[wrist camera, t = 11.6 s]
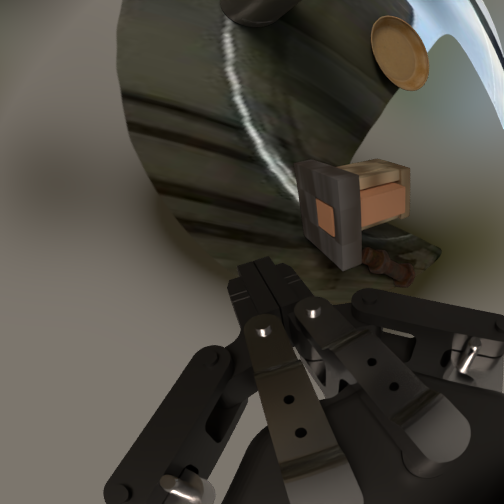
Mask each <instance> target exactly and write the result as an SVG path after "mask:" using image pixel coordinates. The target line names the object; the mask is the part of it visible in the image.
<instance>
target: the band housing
mask: <svg viewBox="0 0 504 504" xmlns="http://www.w3.org/2000/svg"><path fill="white" fill-rule="evenodd" d="M294 169H295V175H296V181H297V188H298V195H299V202H300V209H301V216H302V223H303V231H304V236H305V237H306V238H308V239H309V240H310V241H311V242H312V243H313V244H314V245H315V246H316V247H317V248H318V249H320V250H321V251H322V252H323V253H324V254H325V255H326V256H327V257H328V258H329V259H330V260H331V261H333V262H334V263H335V264H336V265H337V266H338V267H339V268H340V269H341V270H342V271H345V270H347V269H350V268H352V267H355V266H357V265H360V264H362V230H364V229H367V228H370V227H373V226H376V225H379V224H382V223H385V222H387V221H390V220H393V219H396V218H400V219H403V218H406V217H408V216H409V214H410V168H408V167H405V166H402V165H398V164H395V163H391V162H388V161H384V160H380V159H373V160H368V161H363V162H358V163H353V164H348V165H343V166H338V167H334V166H331V165H328V164H325V163H322V162H319V161H315V160H312V159H311V160H306V161H302V162H297V163H294ZM389 182H394V183H396V184H399V185H402V186H404V187H405V213H403V214H400V215H397V216H394V217H391V218H388V219H385V220H382V221H379V222H376V223H373V224H370V225H367V226H364V227H361V199H360V190H362V189H366V188H370V187H374V186H377V185H381V184H385V183H389ZM317 198H318V199H320V200H322V201H324V202H325V203H327V204H329V205H330V206H332V207H333V213H334V226H335V236H334V237H333V236H331V235H330V234H329V233H328V232H326V231H325V230H324V229H322V228H321V227H320V226H319V224H318V214H317V205H316V199H317Z"/></svg>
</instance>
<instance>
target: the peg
mask: <svg viewBox="0 0 504 504" xmlns="http://www.w3.org/2000/svg"><path fill="white" fill-rule="evenodd" d="M360 199H361V227H364V226H367V225H370V224H373V223H376V222H379V221H382V220H385V219H388V218H391V217H394V216H397V215H400V214H403V213H405V187H404V186H402V185H399V184H396V183H394V182H389V183H385V184H381V185H377V186H374V187H370V188H366V189H362V190H360ZM316 205H317V214H318V224H319V226H320V227H321V228H322V229H324V230H325V231H326V232H328V233H329V234H330V235H331V236H333V237H334V236H335V226H334V213H333V207H332V206H330V205H329V204H327V203H325V202H324V201H322V200H320V199H318V198H317V199H316Z"/></svg>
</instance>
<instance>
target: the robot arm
mask: <svg viewBox="0 0 504 504" xmlns="http://www.w3.org/2000/svg"><path fill="white" fill-rule="evenodd" d="M300 1H302V0H220V5H221V8H222V10H223V12H224V13H225V14H226V15H227V16H228V17H229V18H230V19H231V20H233V21H234V22H236V23H238V24H241V25H244V26H249V27H263V26H267V25H270V24H272V23H274V22H275V21H277V20H278V19H279V18H280V17H282V16H283V15H284V14H285V13H286V12H288V11H289V10H290V9H291V8H293V7H294V6H295V5H296V4H298V3H299V2H300ZM237 270H238V274H239V277H238V278H235V279H232V280H229V283H228V287H227V289H228V293H229V296H230V299H231V302H232V305H233V308H234V311H235V314H236V317H237V320H238V323H239V325H240V328H241V331H240V334H239V336H238V338H237V339H236V340H235V341H234V342H233V343H231V344H230V345H228V346H227V347H225V348H224V347H221V346H217V345H212V346H207V347H204V348H202V349H201V350H199V351H198V352H197V353H196V354H195V355H194V356H193V358H192V359H191V361H190V362H189V363H188V365H187V366H186V368H185V369H184V371H183V372H182V374H181V375H180V377H179V378H178V380H177V381H176V383H175V384H174V386H173V387H172V389H171V390H170V391H169V393H168V394H167V396H166V397H165V399H164V400H163V402H162V403H161V405H160V406H159V408H158V409H157V411H156V412H155V414H154V415H153V416H152V418H151V419H150V421H149V422H148V424H147V425H146V427H145V428H144V429H143V431H142V433H141V434H140V435H139V437H138V438H137V440H136V441H135V443H134V444H133V445H132V447H131V448H130V450H129V451H128V453H127V454H126V455H125V457H124V458H123V460H122V461H121V463H120V464H119V466H118V467H117V468H116V470H115V471H114V473H113V474H112V476H111V477H110V479H109V480H108V481H107V483H106V485H105V487H104V499H105V502H106V504H213V503H214V500H215V489H214V487H213V486H212V484H211V483H210V482H209V481H207V479H208V477H209V476H210V474H211V472H212V470H213V468H214V467H215V465H216V463H217V461H218V459H219V457H220V456H221V454H222V452H223V450H224V448H225V446H226V444H227V442H228V441H229V439H230V436H231V435H232V433H233V431H234V429H235V427H236V425H237V423H238V421H239V419H240V417H241V415H242V413H243V411H244V409H245V407H246V405H247V403H248V397H250V396H251V395H252V394H254V393H255V392H257V391H258V392H259V396H260V399H261V403H262V407H263V410H264V414H265V418H266V421H267V426H266V427H265V428H264V429H262V430H261V431H260V432H259V433H258V434H257V435H256V436H255V438H254V439H253V440H252V441H251V443H250V445H249V446H248V448H247V450H246V452H245V455H244V457H243V459H242V461H241V463H240V466H239V468H238V470H237V472H236V474H235V476H234V479H233V481H232V483H231V485H230V487H229V489H228V491H227V493H226V495H225V497H224V500H223V501H222V503H221V504H504V394H503V393H502V384H503V364H504V363H503V362H504V360H503V359H504V316H503V315H500V314H495V313H490V312H485V311H480V310H475V309H470V308H465V307H460V306H455V305H450V304H445V303H440V302H435V301H430V300H426V299H420V298H416V297H411V296H406V295H401V294H397V293H392V292H387V291H382V290H378V289H372V288H366V289H362V290H359V291H357V292H356V293H355V294H354V295H353V297H352V302H351V303H346V304H339V305H332V304H331V303H330V302H329V301H328V300H326V299H324V298H322V297H315V296H314V295H313V294H312V293H311V291H310V290H309V289H308V287H307V286H306V285H305V284H304V282H303V281H302V280H301V279H300V277H299V276H298V275H297V274H296V272H295V271H294V270H293V269H292V267H290V266H288V265H286V264H284V263H281V264H278V265H275V264H274V263H273V262H272V260H271V259H270V257H269V256H268V257H264V258H261V259H258V260H255V261H253V262H249V263H246V264H242V265H239V266H237ZM383 328H387V329H392V330H396V331H400V332H405V333H409V334H412V335H413V336H414V337H413V338H408V337H403V336H399V335H395V334H391V333H387V332H383ZM293 347H296V349H297V351H298V353H299V354H300V358H301V360H298V359H297V357H296V355H295V352H294V350H293ZM303 364H304V365H305V367H306V368H307V370H308V371H309V373H310V374H311V376H312V377H313V379H314V380H315V382H316V383H317V384H318V386H319V387H320V389H321V390H322V392H323V394H324V396H325V399H323V400H319V399H318V397H317V395H316V393H315V390H314V388H313V386H312V383H311V381H310V379H309V376H308V374H307V372H306V370H305V367H304V365H303Z"/></svg>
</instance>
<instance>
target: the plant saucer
mask: <svg viewBox="0 0 504 504" xmlns="http://www.w3.org/2000/svg"><path fill="white" fill-rule="evenodd" d="M371 47H372V52H373V55H374V58H375V60H376V62H377V64H378V66H379V67H380V69H381V70H382V72H383V73H384V74H385V75H386V77H387V78H388V79H389V80H390V81H391V82H393V83H394V84H395V85H396V86H398V87H400V88H401V89H404V90H407V91H415V90H418V89H420V88H421V87H422V86H423V85H424V84H425V82H426V81H427V78H428V74H429V60H428V55H427V51H426V48H425V46H424V44H423V42H422V40H421V38H420V37H419V35H418V34H417V32H416V31H415V30H414V29H413V28H412V27H411V26H410V25H409V24H408V23H406V22H405V21H403V20H402V19H400V18H397V17H394V16H383V17H381V18H379V19H378V20H377V21H376V22H375V23H374V25H373V28H372V32H371Z"/></svg>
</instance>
